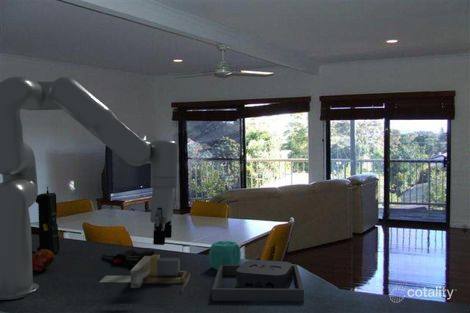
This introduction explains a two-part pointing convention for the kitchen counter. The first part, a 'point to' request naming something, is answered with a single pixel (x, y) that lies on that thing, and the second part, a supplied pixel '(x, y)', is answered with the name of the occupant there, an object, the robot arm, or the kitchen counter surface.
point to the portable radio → (48, 222)
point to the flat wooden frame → (146, 276)
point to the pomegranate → (42, 260)
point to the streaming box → (264, 274)
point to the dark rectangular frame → (255, 289)
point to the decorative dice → (224, 254)
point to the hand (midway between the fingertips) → (162, 240)
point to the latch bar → (164, 267)
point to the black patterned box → (126, 257)
